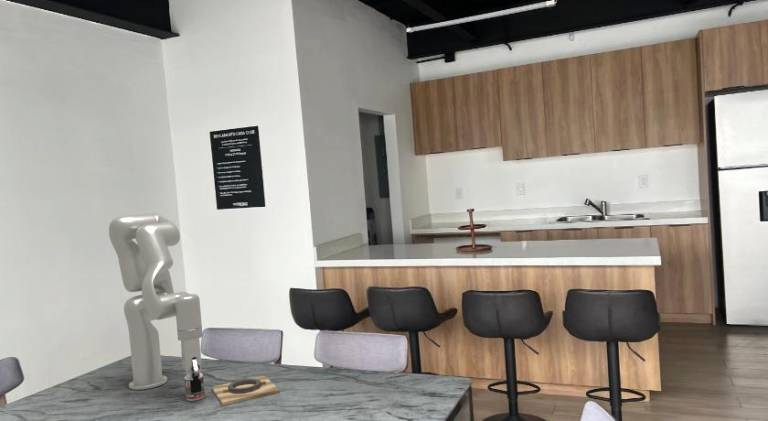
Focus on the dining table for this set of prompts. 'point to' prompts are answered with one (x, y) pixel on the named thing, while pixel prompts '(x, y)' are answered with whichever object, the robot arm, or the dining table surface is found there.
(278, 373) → the dining table surface
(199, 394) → the pill bottle
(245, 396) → the socket board
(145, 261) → the robot arm
